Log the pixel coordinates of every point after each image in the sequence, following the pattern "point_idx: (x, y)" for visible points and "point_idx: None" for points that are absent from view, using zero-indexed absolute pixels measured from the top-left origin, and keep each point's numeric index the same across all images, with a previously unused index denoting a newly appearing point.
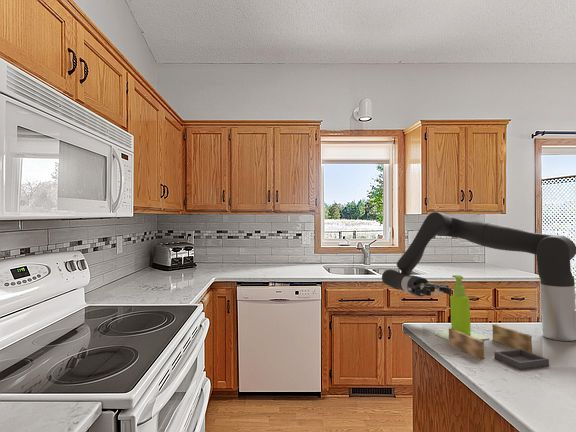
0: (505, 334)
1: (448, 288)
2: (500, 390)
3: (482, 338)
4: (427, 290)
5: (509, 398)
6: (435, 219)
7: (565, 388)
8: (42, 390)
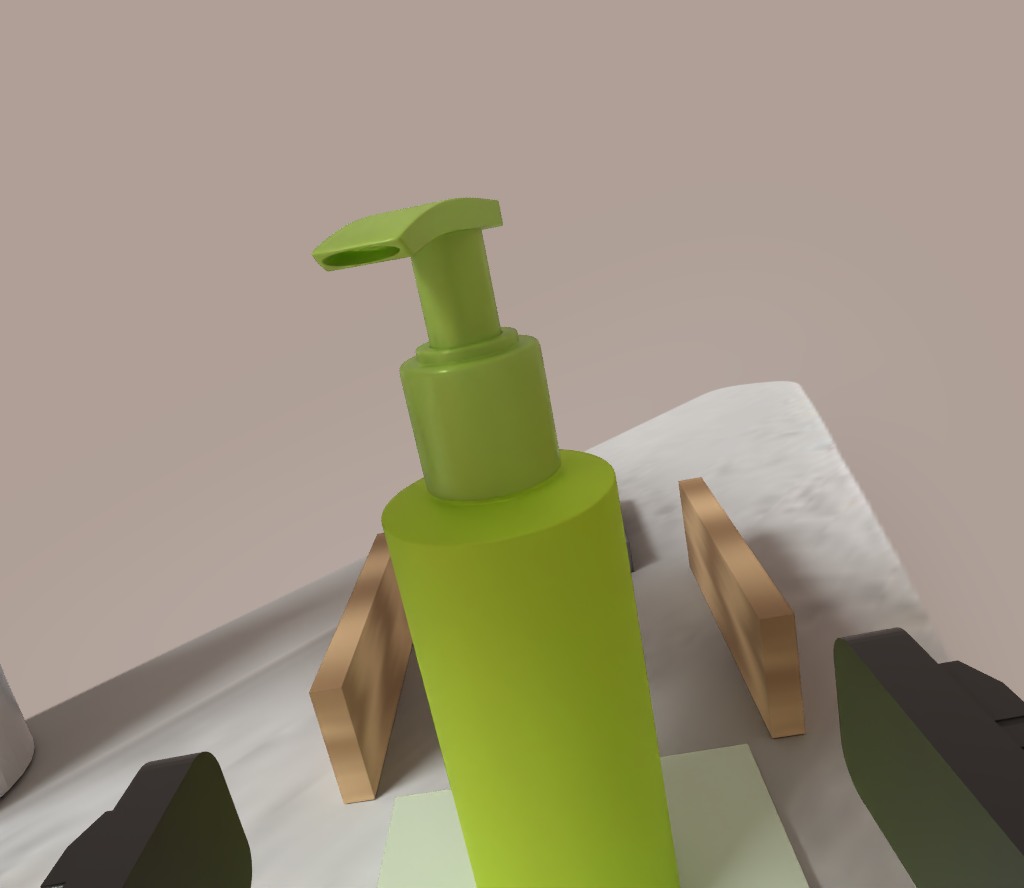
0: (380, 646)
1: (187, 779)
2: (780, 435)
3: (447, 801)
4: (932, 685)
5: (779, 419)
6: None
7: None
8: None
